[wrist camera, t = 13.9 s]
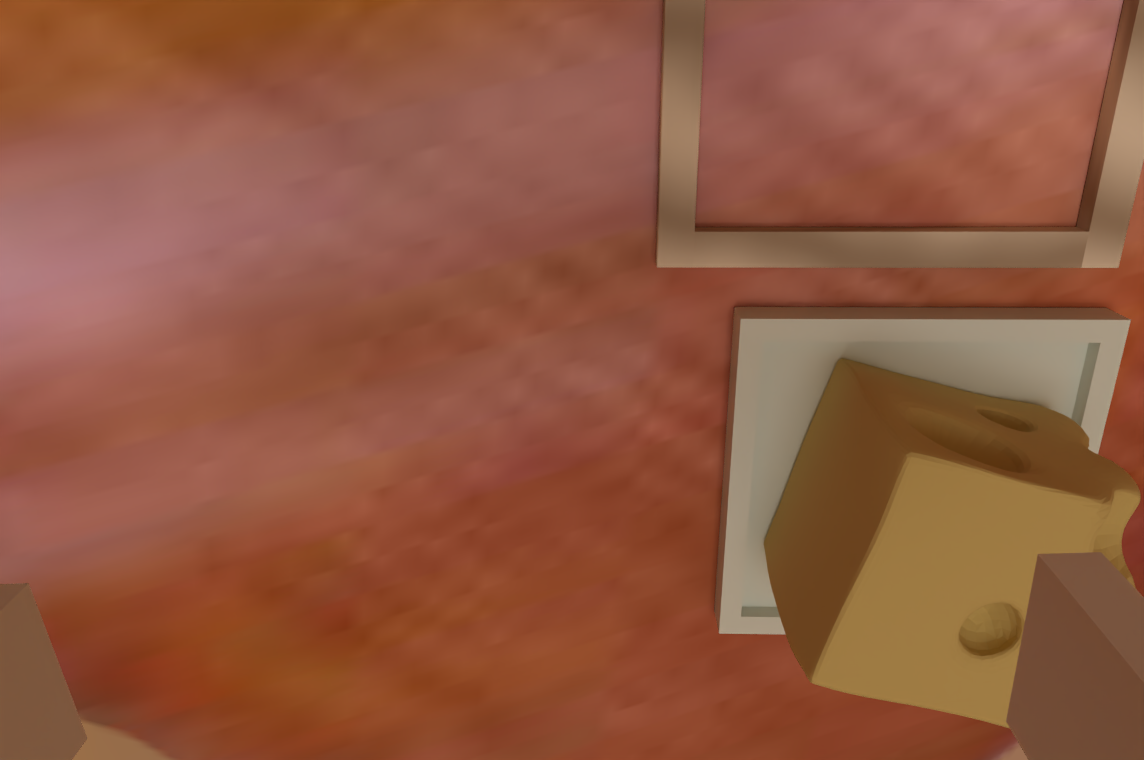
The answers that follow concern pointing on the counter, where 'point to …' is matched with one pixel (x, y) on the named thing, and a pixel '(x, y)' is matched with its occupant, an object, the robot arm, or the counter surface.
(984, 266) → the wooden square frame
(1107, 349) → the plate
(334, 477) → the counter surface
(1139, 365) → the counter surface
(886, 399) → the cheese
